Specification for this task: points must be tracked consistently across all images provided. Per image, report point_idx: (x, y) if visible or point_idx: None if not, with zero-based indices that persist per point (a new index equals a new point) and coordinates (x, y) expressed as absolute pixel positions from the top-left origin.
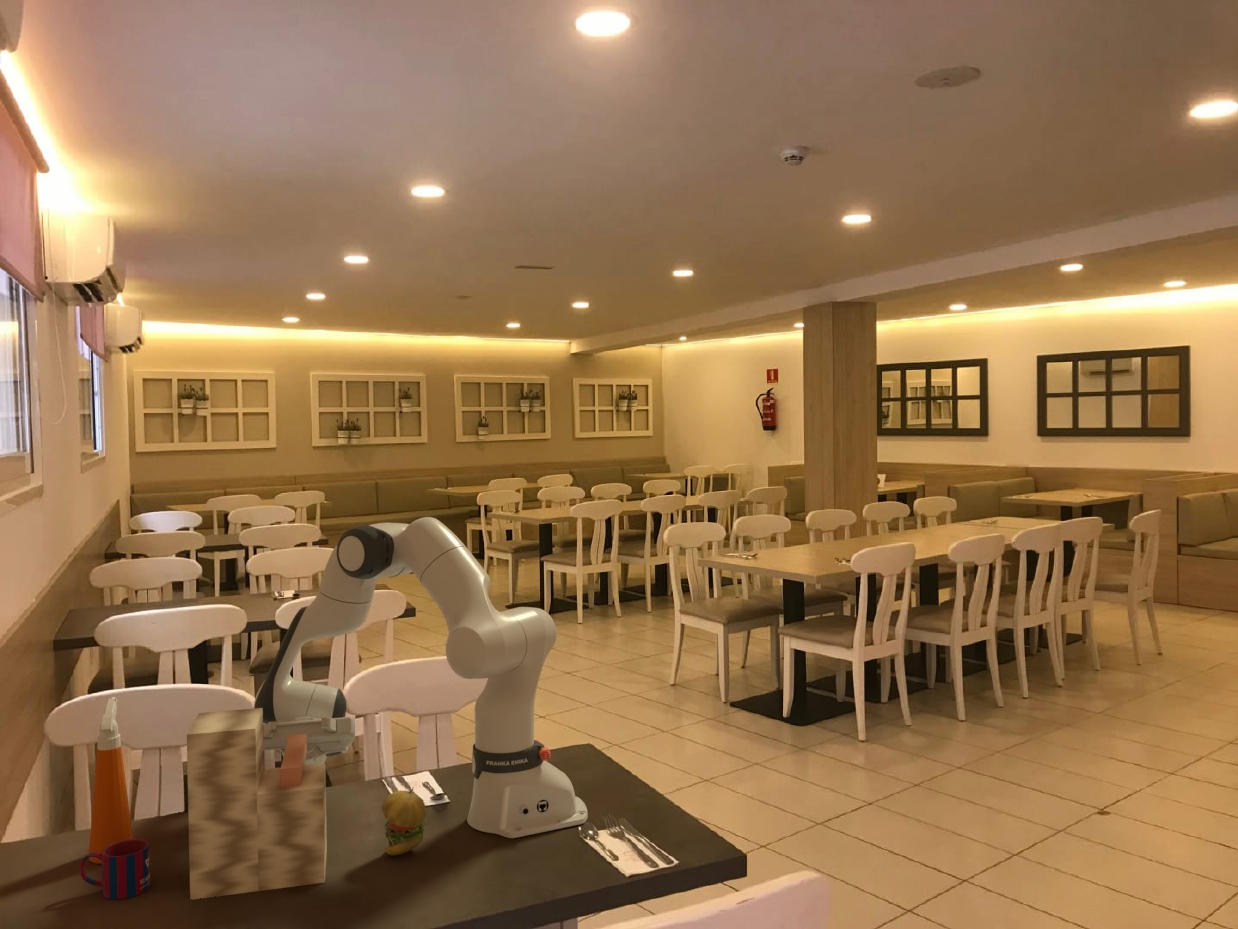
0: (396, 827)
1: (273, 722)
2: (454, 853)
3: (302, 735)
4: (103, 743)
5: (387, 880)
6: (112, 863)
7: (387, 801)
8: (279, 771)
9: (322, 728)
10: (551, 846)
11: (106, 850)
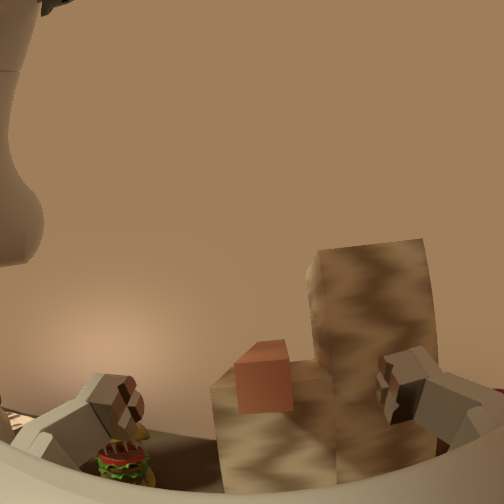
0: (140, 447)
1: (395, 352)
2: (86, 472)
3: (246, 360)
4: None
5: (177, 466)
6: None
7: (139, 423)
8: (298, 376)
9: (131, 434)
10: None
11: (502, 392)
